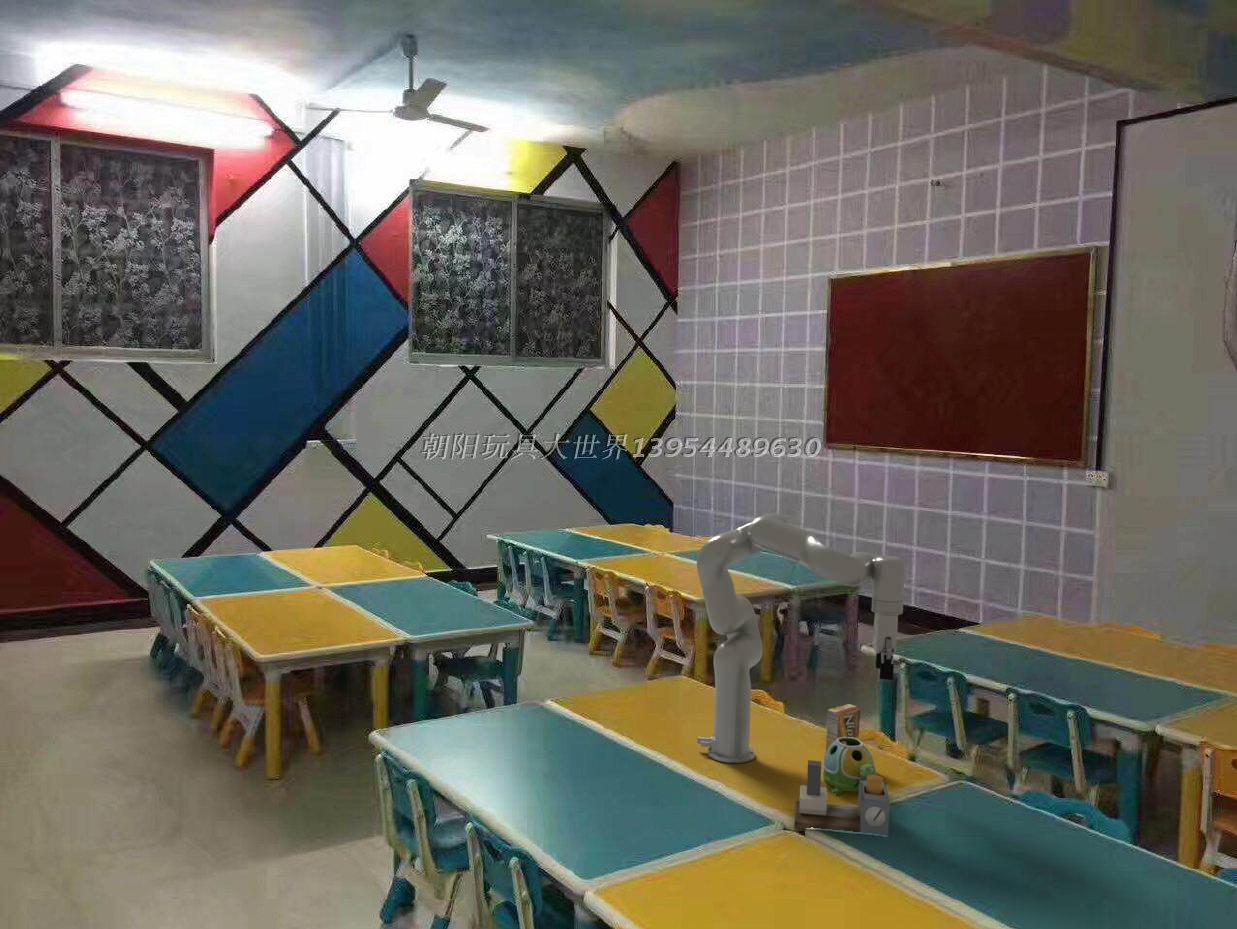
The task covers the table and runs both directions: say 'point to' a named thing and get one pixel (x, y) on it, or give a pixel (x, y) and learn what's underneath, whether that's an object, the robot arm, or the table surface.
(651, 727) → the table surface
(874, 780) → the button
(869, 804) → the gauge cabinet
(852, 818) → the rail board
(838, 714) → the candy box
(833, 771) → the turtle holder
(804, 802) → the carriage
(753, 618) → the robot arm
